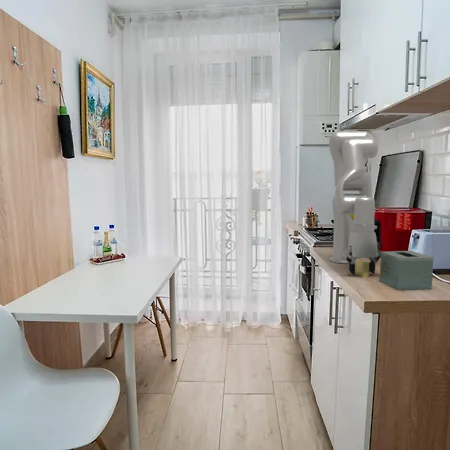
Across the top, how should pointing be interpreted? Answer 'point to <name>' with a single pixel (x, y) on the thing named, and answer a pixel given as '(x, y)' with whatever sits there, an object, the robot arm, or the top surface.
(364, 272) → the wooden block
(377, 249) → the robot arm
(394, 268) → the coin box
